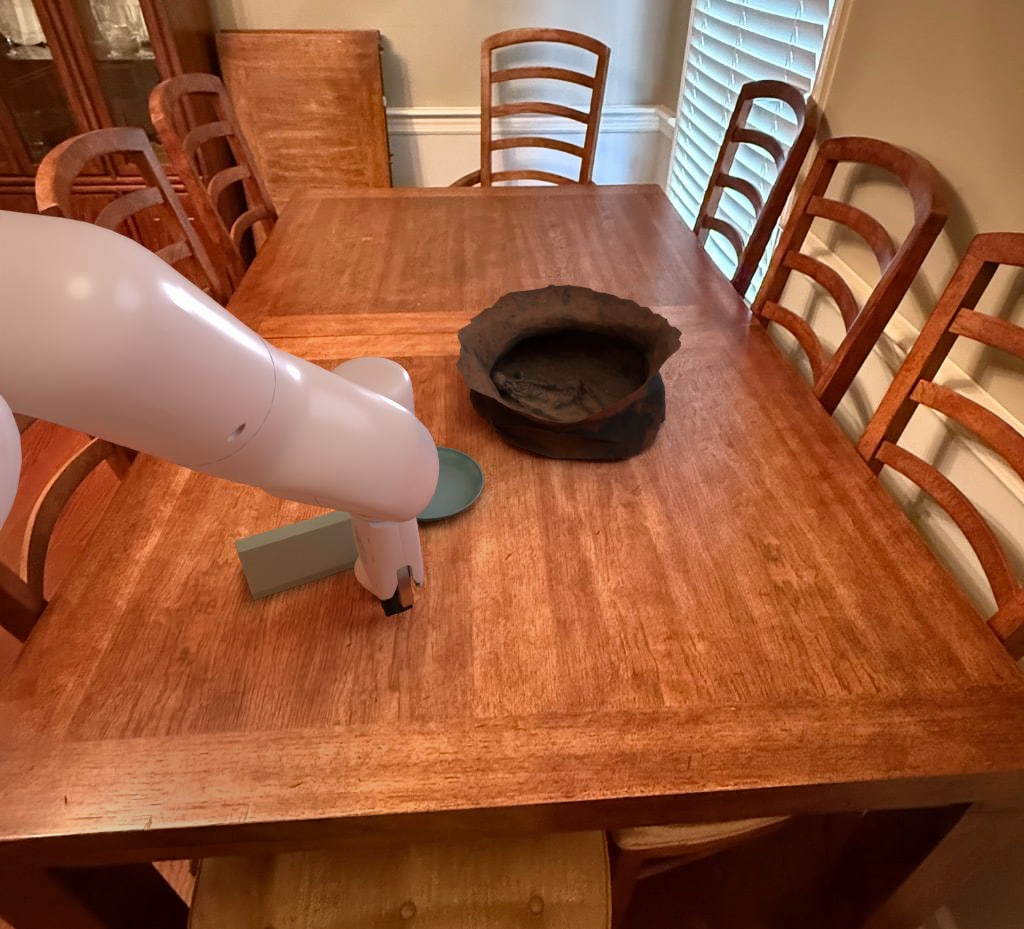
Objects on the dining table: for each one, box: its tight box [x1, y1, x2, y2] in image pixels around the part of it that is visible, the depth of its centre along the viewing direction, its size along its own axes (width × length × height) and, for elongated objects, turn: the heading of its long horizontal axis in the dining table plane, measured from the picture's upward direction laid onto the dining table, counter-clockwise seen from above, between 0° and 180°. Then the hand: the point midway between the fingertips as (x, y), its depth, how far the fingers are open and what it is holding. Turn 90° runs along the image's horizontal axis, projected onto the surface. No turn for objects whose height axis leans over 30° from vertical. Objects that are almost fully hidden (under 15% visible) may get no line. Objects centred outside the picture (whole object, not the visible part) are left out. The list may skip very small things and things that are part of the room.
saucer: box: [416, 445, 485, 522], centre depth 94 cm, size 15×15×3 cm
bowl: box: [455, 283, 683, 461], centre depth 107 cm, size 34×33×15 cm
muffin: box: [353, 557, 376, 596], centre depth 80 cm, size 6×6×7 cm
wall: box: [234, 510, 359, 601], centre depth 82 cm, size 18×5×8 cm, turn 116°
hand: (397, 607), depth 77 cm, fingers closed
